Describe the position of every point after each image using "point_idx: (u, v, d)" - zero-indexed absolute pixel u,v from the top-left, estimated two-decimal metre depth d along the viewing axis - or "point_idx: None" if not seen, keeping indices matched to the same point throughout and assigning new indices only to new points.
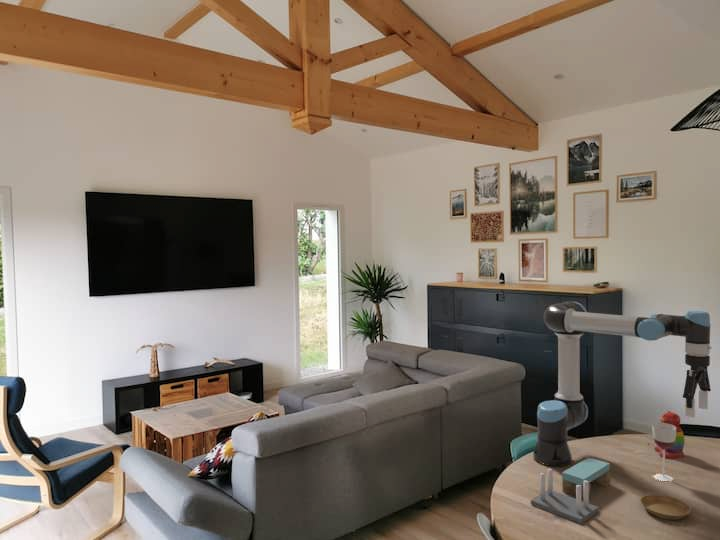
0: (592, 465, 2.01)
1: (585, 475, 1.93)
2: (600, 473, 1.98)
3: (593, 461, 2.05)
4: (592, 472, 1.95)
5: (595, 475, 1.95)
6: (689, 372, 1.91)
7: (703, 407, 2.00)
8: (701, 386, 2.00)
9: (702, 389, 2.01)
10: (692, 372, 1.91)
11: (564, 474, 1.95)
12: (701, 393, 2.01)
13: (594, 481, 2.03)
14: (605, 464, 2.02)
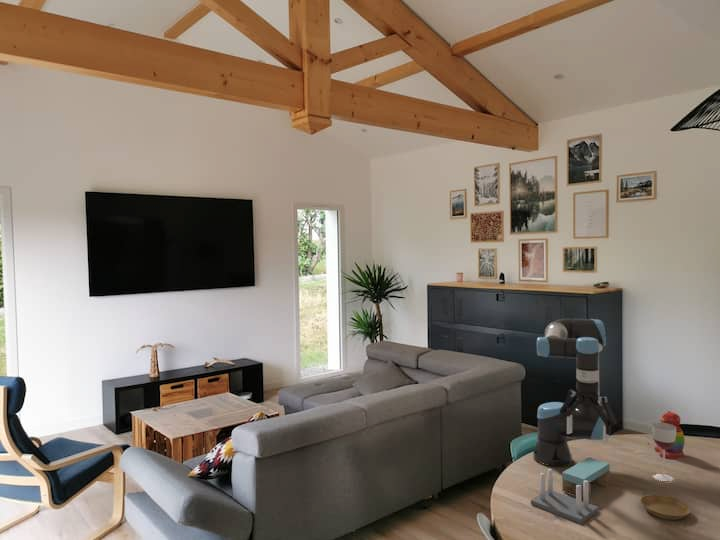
0: (592, 465, 2.01)
1: (585, 475, 1.93)
2: (600, 473, 1.98)
3: (593, 461, 2.05)
4: (592, 472, 1.95)
5: (595, 475, 1.95)
6: None
7: None
8: None
9: None
10: None
11: (564, 474, 1.95)
12: None
13: (594, 481, 2.03)
14: (605, 464, 2.02)
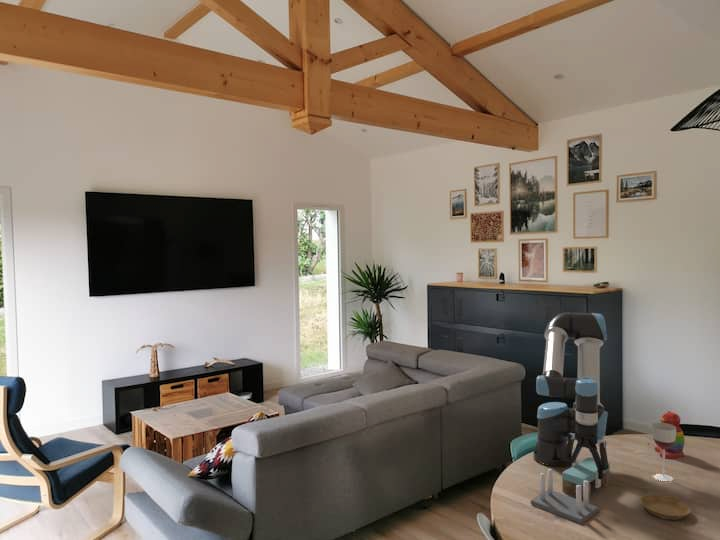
0: (592, 465, 2.01)
1: (585, 475, 1.93)
2: None
3: (593, 461, 2.05)
4: (592, 472, 1.95)
5: None
6: None
7: None
8: None
9: None
10: None
11: (564, 474, 1.95)
12: None
13: (594, 481, 2.03)
14: None
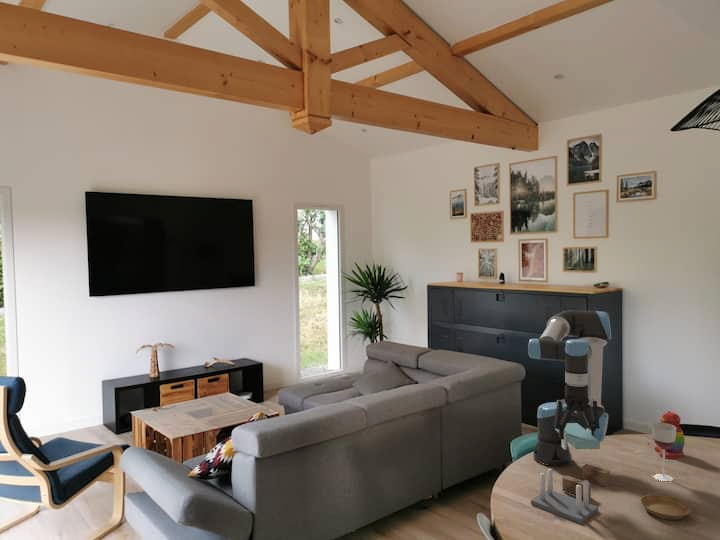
0: (574, 428, 1.95)
1: (593, 438, 1.84)
2: None
3: None
4: (588, 434, 1.89)
5: None
6: (556, 402, 1.91)
7: None
8: (587, 423, 1.91)
9: (589, 428, 1.92)
10: (557, 402, 1.90)
11: (578, 443, 1.81)
12: None
13: (594, 481, 2.03)
14: (578, 425, 1.99)
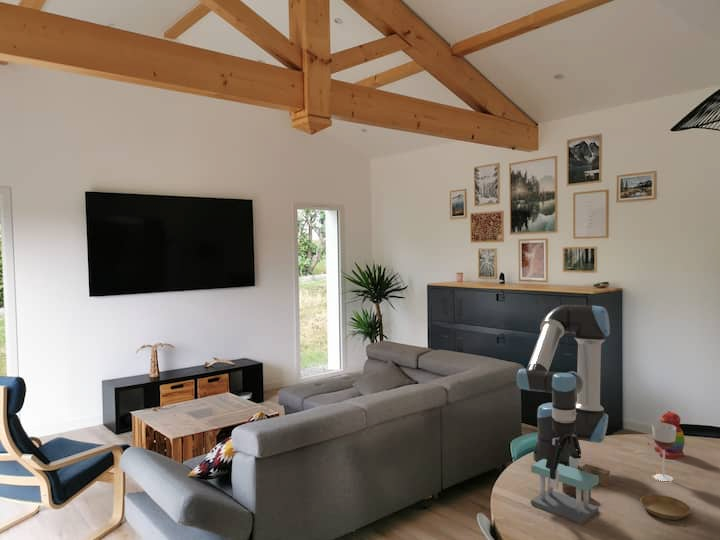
0: None
1: (588, 474, 1.81)
2: None
3: (542, 464, 1.90)
4: (575, 469, 1.85)
5: None
6: (552, 441, 1.80)
7: None
8: (571, 453, 1.88)
9: (572, 456, 1.89)
10: (555, 441, 1.79)
11: (588, 484, 1.75)
12: (571, 460, 1.89)
13: None
14: None
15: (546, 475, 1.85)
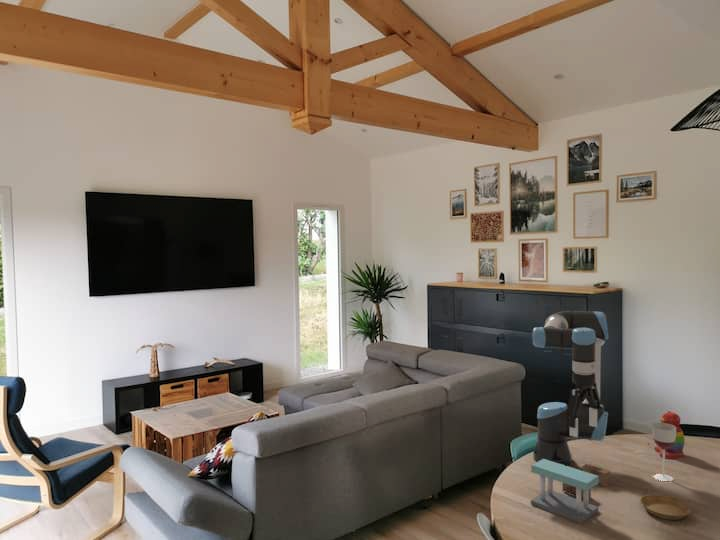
0: (555, 466, 1.87)
1: (588, 474, 1.81)
2: None
3: (542, 464, 1.90)
4: (575, 469, 1.85)
5: None
6: (572, 391, 1.88)
7: (593, 425, 1.97)
8: (591, 404, 1.96)
9: (592, 406, 1.97)
10: (575, 391, 1.87)
11: (588, 484, 1.75)
12: (591, 411, 1.97)
13: None
14: (549, 461, 1.92)
15: (546, 475, 1.85)
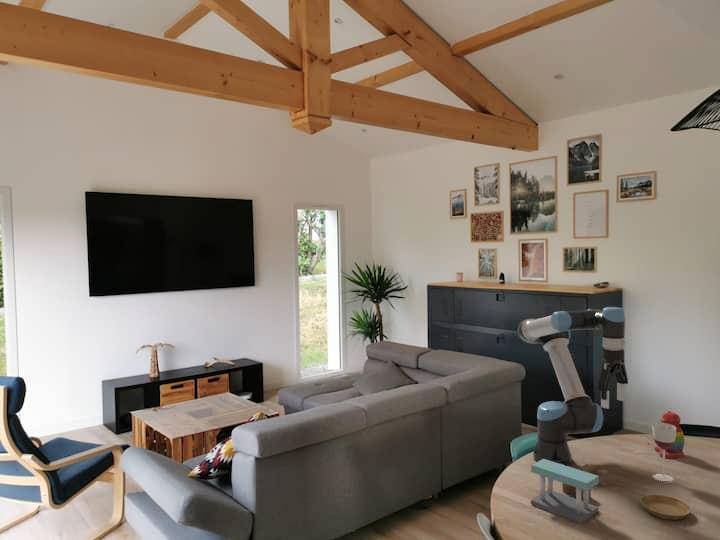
0: (555, 466, 1.87)
1: (588, 474, 1.81)
2: None
3: (542, 464, 1.90)
4: (575, 469, 1.85)
5: None
6: (604, 365, 2.01)
7: (621, 399, 2.10)
8: (619, 379, 2.10)
9: (620, 382, 2.11)
10: (606, 365, 2.00)
11: (588, 484, 1.75)
12: (619, 386, 2.10)
13: None
14: (549, 461, 1.92)
15: (546, 475, 1.85)
